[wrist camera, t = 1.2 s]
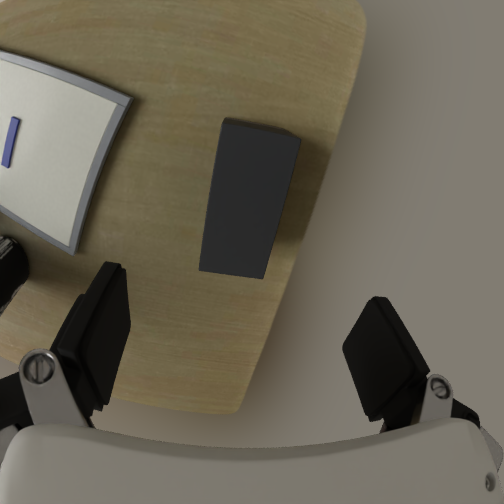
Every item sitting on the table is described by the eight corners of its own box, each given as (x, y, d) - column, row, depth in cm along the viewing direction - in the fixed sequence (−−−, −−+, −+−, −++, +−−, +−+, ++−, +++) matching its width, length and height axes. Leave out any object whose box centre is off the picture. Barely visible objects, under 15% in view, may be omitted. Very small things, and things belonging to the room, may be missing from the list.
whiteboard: (-13, 46, 10) (-18, 46, 9) (134, 97, 17) (131, 98, 16) (-42, 174, 16) (-46, 176, 16) (77, 252, 24) (73, 256, 23)
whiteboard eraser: (224, 117, 19) (222, 122, 14) (284, 129, 19) (301, 139, 15) (204, 233, 24) (198, 270, 19) (256, 241, 24) (263, 279, 20)
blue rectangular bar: (13, 116, 15) (11, 116, 14) (20, 119, 15) (18, 120, 15) (2, 163, 17) (0, 164, 16) (9, 167, 17) (7, 168, 17)
